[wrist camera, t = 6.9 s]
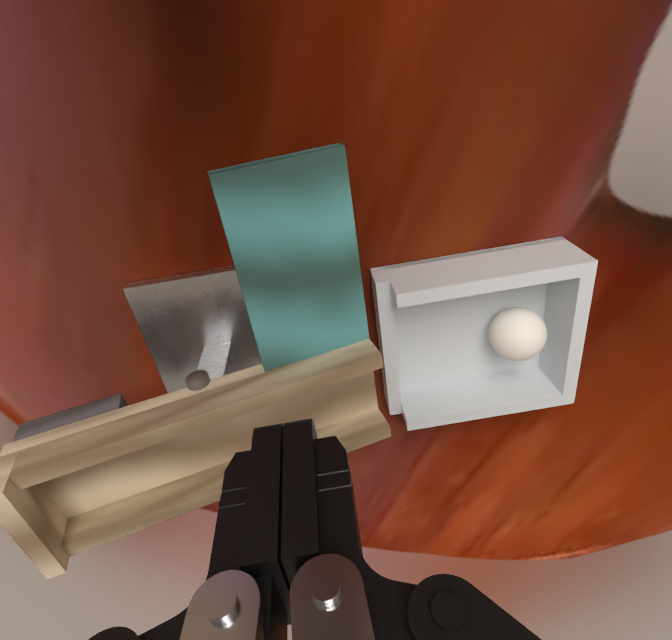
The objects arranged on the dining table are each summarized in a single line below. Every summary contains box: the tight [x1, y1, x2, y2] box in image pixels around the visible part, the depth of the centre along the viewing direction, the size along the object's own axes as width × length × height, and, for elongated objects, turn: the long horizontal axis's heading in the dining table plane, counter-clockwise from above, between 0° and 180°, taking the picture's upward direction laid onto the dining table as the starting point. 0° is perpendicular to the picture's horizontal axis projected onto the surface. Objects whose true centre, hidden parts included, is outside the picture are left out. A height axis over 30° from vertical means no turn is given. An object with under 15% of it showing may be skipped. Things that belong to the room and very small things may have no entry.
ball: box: [489, 307, 547, 361], centre depth 33 cm, size 4×4×4 cm
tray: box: [370, 237, 598, 431], centre depth 33 cm, size 12×14×4 cm
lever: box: [0, 143, 391, 579], centre depth 26 cm, size 20×22×6 cm
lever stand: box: [123, 265, 262, 393], centre depth 33 cm, size 16×10×6 cm, turn 8°
